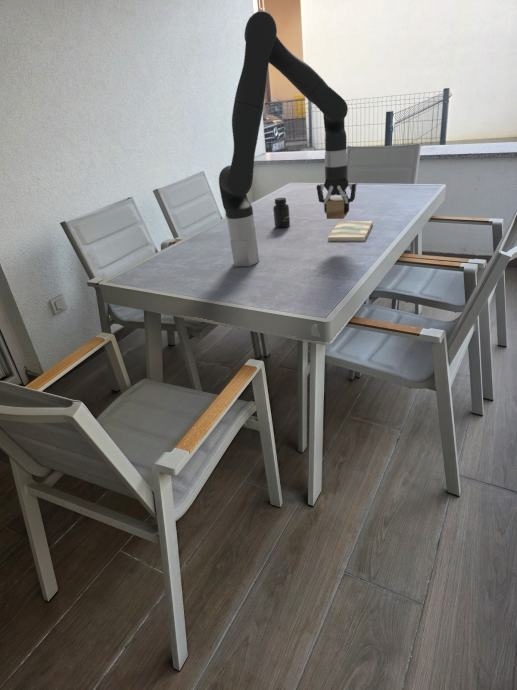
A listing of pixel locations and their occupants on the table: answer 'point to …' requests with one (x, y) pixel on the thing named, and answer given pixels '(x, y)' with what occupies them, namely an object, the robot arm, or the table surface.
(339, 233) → the birch board
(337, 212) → the walnut block
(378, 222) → the table surface
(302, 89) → the robot arm
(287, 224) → the supplement bottle
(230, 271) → the table surface
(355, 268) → the table surface
